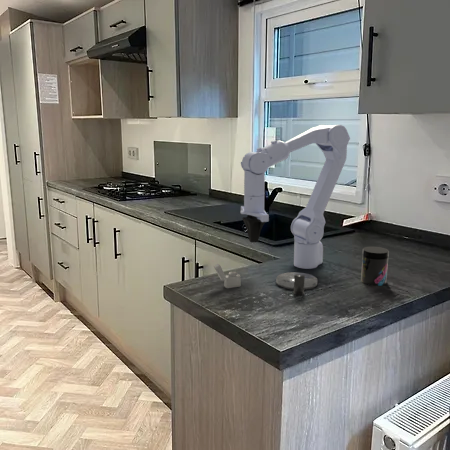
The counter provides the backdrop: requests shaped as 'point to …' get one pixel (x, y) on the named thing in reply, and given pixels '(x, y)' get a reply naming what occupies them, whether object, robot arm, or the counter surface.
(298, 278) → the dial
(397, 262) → the counter surface
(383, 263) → the supplement container
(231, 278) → the lighter
